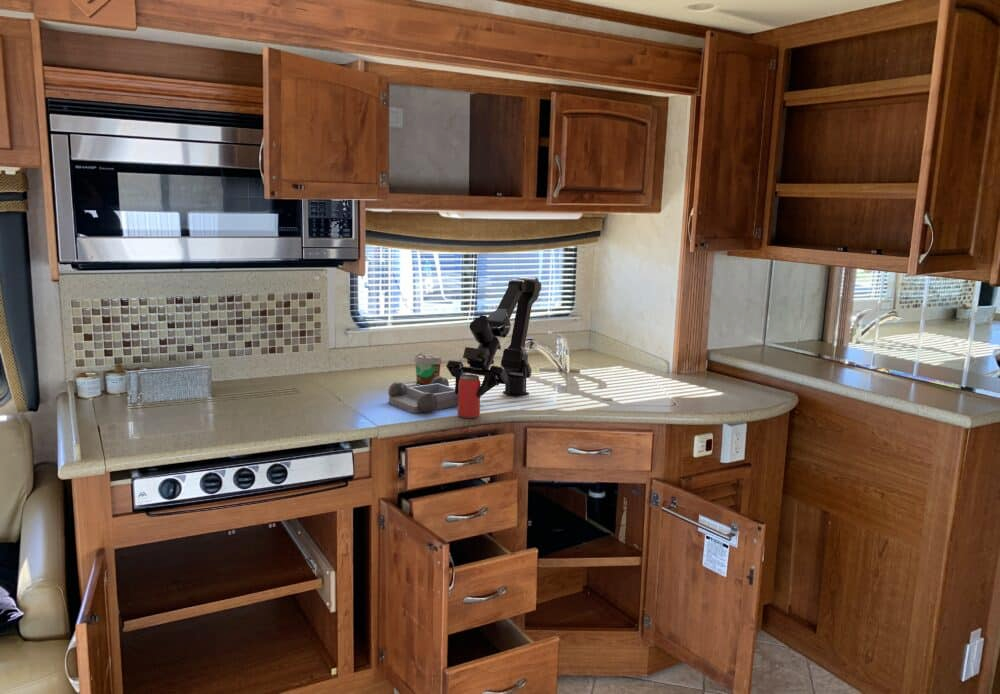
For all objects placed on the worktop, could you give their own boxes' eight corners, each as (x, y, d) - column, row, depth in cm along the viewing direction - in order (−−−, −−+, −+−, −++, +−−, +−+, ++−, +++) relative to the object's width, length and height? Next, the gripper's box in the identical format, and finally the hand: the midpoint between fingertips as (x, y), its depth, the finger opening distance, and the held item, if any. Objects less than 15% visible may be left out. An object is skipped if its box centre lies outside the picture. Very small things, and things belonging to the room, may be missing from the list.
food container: (406, 381, 275) (406, 353, 273) (420, 379, 279) (421, 352, 277) (426, 388, 266) (426, 359, 264) (441, 386, 269) (441, 358, 268)
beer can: (458, 419, 230) (459, 379, 228) (456, 413, 236) (457, 374, 234) (481, 418, 231) (482, 379, 229) (478, 412, 238) (479, 374, 235)
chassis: (447, 392, 262) (447, 374, 261) (481, 403, 248) (481, 385, 247) (385, 402, 246) (385, 383, 245) (418, 415, 233) (418, 395, 232)
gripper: (450, 333, 237) (429, 375, 229) (505, 340, 229) (486, 384, 221) (462, 355, 245) (443, 396, 238) (516, 362, 237) (498, 405, 230)
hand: (466, 395), depth 231 cm, fingers open, 7 cm apart
